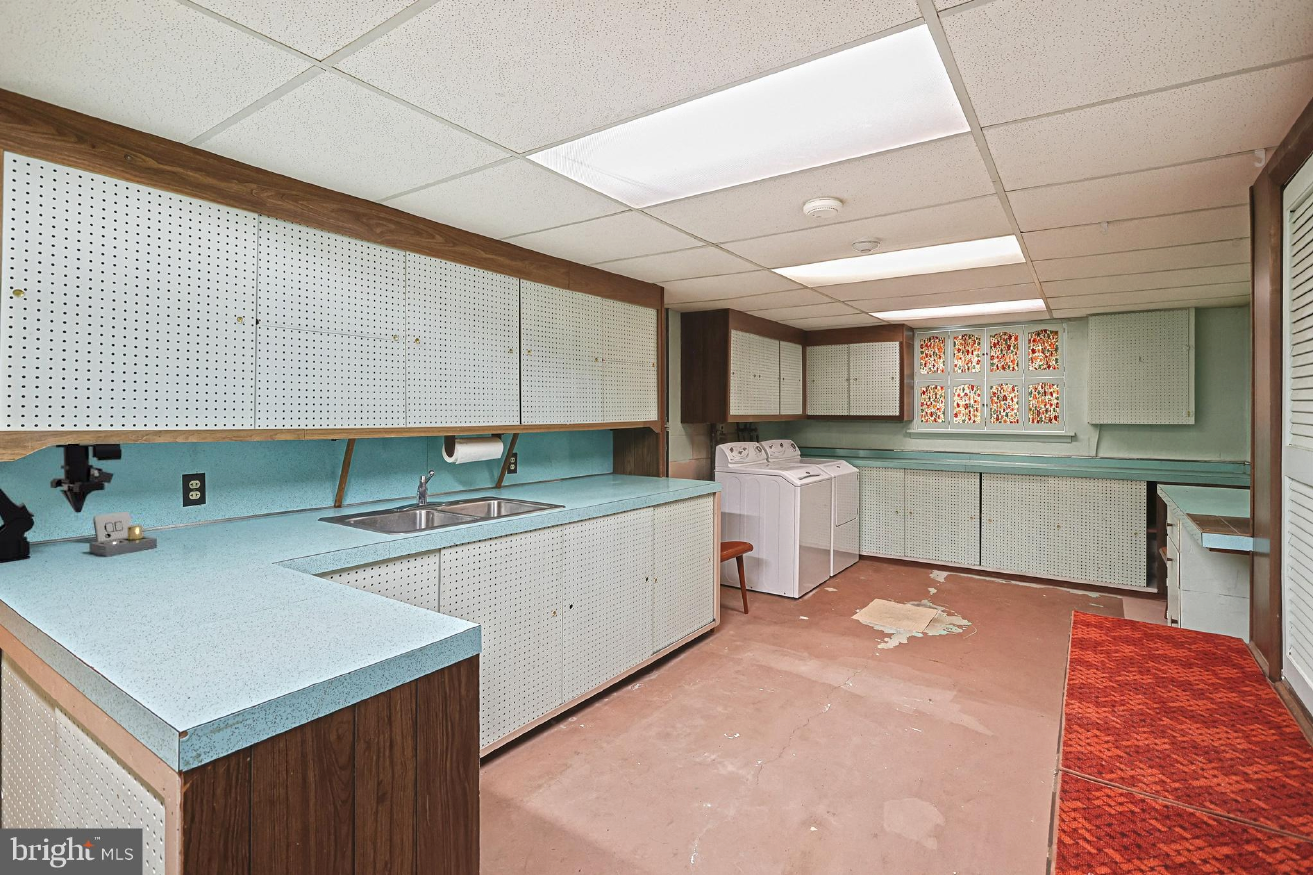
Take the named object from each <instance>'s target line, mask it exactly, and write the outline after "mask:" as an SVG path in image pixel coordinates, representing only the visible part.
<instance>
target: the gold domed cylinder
mask: <svg viewBox="0 0 1313 875" xmlns="http://www.w3.org/2000/svg"><path fill="white" fill-rule="evenodd" d="M142 536H143V525H141V524H139V525H138V524H137V525H131V526H129V527H127V537H128V541H135V540H141V539H143V538H142Z"/></svg>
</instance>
